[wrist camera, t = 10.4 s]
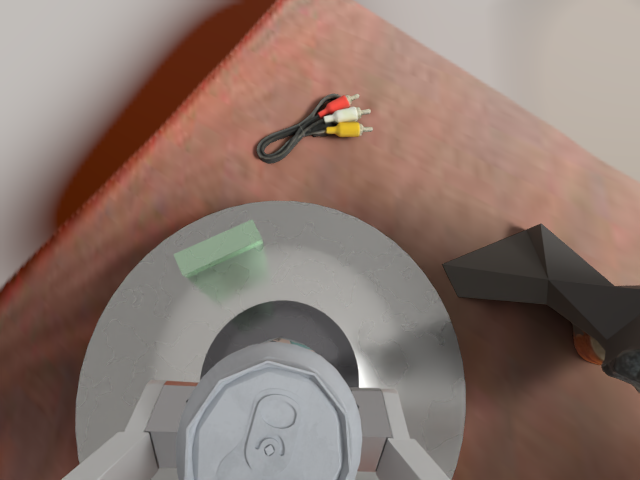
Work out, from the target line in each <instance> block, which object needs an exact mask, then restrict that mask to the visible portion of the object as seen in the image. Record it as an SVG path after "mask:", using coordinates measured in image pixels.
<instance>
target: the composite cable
mask: <svg viewBox="0 0 640 480" xmlns="http://www.w3.org/2000/svg"><path fill="white" fill-rule="evenodd" d="M358 97H359V94H355V95H354V96H351V97H350V96H349V95H346V96H345V95H343V96H340V95H338V94H330V95H328V96H326V97H324V98H323V99H322V100H321V101H320V102H319V104H318V105H317V106H316V108H315V109H314V111H313V112H312V113H311V114H310V115H309V116H308V117H307V118H306V119H304V120H303V121H302V122H300V123H299V124H297V125H295V126H292V127H290V128H287V129H284V130H281V131H278V132H276V133H273V134H271V135H269V136H267V137H265V138H264V139H262V140H261V141H260V143H259V144H258V147H257V154H258V156H259V158H260V159H261V160H262V161H264V162H266V163H269V164H270V163H275V162H278V161H280V160H282V159H283V158H284V157H286V156H287V155H288V154H289V153H290V151H291V150H292V149H293V148H294V147H295V145H296V144H297V143H298V142H299V141H300V140H301V139H302V138H303V137H304V136H308V135H313V137H316V136H327V135H330V134H336V135H337V136H339V137H358V136H359V135H362V133H363V132H372V130H373V128H372V127H363V125H362V124H359V123H358V122H357V120H358V119H360V118H361V116H362V115H365V114H369V113H370V112H371V110H370V109H367V110H360V108H359V107H357V108H356V107H351V108H349V107H350V105H351V103H352V101H353V100H355V99H357V98H358ZM329 100H333V101H331V102H330V103H328V104H327V106H326V108H325V109H324V110H322V111H320V112H318V110H319V109H320V108H321V106H322V105H323V104H324V103H325V102H327V101H329ZM317 112H318V114H317V116H315V115H316V113H317ZM314 116H315V117H314ZM291 135H294V136H293V137H292V138H291V139H290V140H288V141H287V142H286V143H285V145H284V146H282V147H281V148H280V149H279V150H278V151H276V152H275V153H273V154H266V153H265V152H264V150H265V148H266V147H267V146H268V145H269V144H270V143H272V142H275V141H277V140H279V139H282V138H286V137H288V136H291Z"/></svg>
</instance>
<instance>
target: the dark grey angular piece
mask: <svg viewBox="0 0 640 480" xmlns="http://www.w3.org/2000/svg"><path fill="white" fill-rule="evenodd" d="M442 265H443V267H444V269H445V271H446V273H447V275H448V277H449V279H450V281H451V283H452V285H453V287H454V289H455V292H456V294H457V296H458V297H468V298H479V299H491V300H502V301H514V302H525V303H537V304H547V305H548V306H549V307H551V308H552V309H554V310H555V311H556V312H558V313H559V314H561V315H562V316H563V317H565V318H566V319H567V320H569V321H570V322H572V325H573V337H574V339H573V340H574V344H575V345H574V346H575V348H576V350H577V352H578V354H579V355H580V356H581V357H582V358H583V359H584V360H586V361H588V362H591V363H594V364H597V365H602V370H603V371H604V372H605V373H606V374H607V375H608V376H611V377H614V378H617V379H620V380H622V381H625V382H627V383H629V384H631V385H633V386H634V387H635V388H636V390H637V391H638V392H639V393H640V286H614V285H613V284H612V283H610V282H609V281H608V280H607V279H606V278H605V277H603V276H602V275H601V274H600V273H599V272H597V271H596V270H595V269H594V268H593V267H592V266H590V265H589V264H588V263H587V262H586V261H585V260H583V259H582V258H581V257H580V256H579V255H578V254H576V253H575V252H574V251H573V250H572V249H570V248H569V247H568V246H567V245H566V244H565V243H563V242H562V241H561V240H560V239H559V238H558V237H556V236H555V235H554V234H553V233H552V232H551V231H549V230H548V229H547V228H546V227H545V226H544V225H542V224H539V225H536V226H534V227H532V228H529V229H527V230H525V231H522V232H520V233H517V234H515V235H513V236H510V237H508V238H505V239H503V240H500V241H498V242H496V243H493V244H491V245H488V246H486V247H483V248H481V249H478V250H476V251H474V252H471V253H469V254H466V255H464V256H461V257H459V258H457V259H454V260H452V261H449V262H447V263H444V264H442Z"/></svg>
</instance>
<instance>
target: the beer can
mask: <svg viewBox="0 0 640 480" xmlns="http://www.w3.org/2000/svg"><path fill="white" fill-rule="evenodd" d="M361 448H362V429H361V419H360V415H359V411H358V407H357V405H356V401H355V398H354V396H353V394H352V392H351V390H350V388H349V386H348V385H347V383H346V382H345V381H344V379H343V378H342V376H341V375H340V374H339V372H338V371H337V369H336V368H335V367H333V366H332V365H331V364H330V363H329V362H328V361H326V360H325V359H324V358H323V357H322V356H321V355H319V354H318V353H316V352H315V351H313V350H312V349H310V348H309V347H307V346H306V345H304V344H302V343H300V342H298V341H295V340H292V339H287V338H274V339H269V340H267V341H265V342H262V343H260V344H255V345H250V346H247V347H245V348H243V349H241V350H238V351H236V352H234V353H232V354H230V355H228V356H226V357H225V358H223V359H222V360H221V361H219V362H218V363H217V364H216V365H215V366H214V367H212V368H211V369H210V370H209V371H208V372H207V373H206V374H205V375H204V376H203V377H202V379H201V380H200V382H199V383H198V385H197V386H196V387H195V389H194V390H193V392H192V393H191V395H190V397H189V399H188V402H187V404H186V406H185V408H184V411H183V413H182V415H181V419H180V424H179V428H178V432H177V437H176V466H177V474H178V479H179V480H355V477H356V474H357V471H358V467H359V464H360V458H361Z"/></svg>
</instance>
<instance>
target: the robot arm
mask: <svg viewBox="0 0 640 480" xmlns="http://www.w3.org/2000/svg"><path fill="white" fill-rule="evenodd" d="M198 383H199V382H183V381H167V380H150V381H149V382H148V383H147V384H146V386H145V388H144V390H143V392H142V394H141V396H140V398H139V400H138V403H137V405H136V407H135V409H134V411H133V413H132V415H131V417H130V419H129V422H128V424H127V426H126V428H125V430H124V432H117V433H116V434H115V435H114V436H113V437H111V438H110V439H109V440H108V441H107V442H106V443H104V444H103V445H102V446H101V447H100V448H98V449H97V450H96V451H95V452H94V453H92V454H91V455H90V456H89V457H88V458H86V459H85V460H84V461H83V462H82V463H80V464H79V465H78V466H77V467H76V468H74V469H73V470H72V471H71V472H70V473H68V474H67V475H66V476H65V477H64V478H63V479H61V480H151V478H152V477H153V476H154V475H155V474H156V473H157V471H158V469H160V468H177V466H176V437H177V432H178V428H179V424H180V419H181V415H182V413H183V411H184V408H185V406H186V404H187V402H188V399H189V397H190V395H191V393H192V392H193V390H194V389H195V387H196V386H197V385H198ZM350 390H351V392H352V394H353V396H354V398H355V401H356V405H357V407H358V411H359V415H360V419H361V429H362V448H361V458H360V464H359V467H358V471H360V472H376V475H377V477H378V478H379V480H450V478H449V477H448V476H447V475H446V474H445V473H444V472H443V471H442V469H441V468H440V467H439V466H438V465H437V464H436V463H435V461H434V460H433V459H432V458H431V457H430V456H429V455H428V454H427V452H426V451H425V450H424V449H423V448H422V447H421V446H420V445H419V443H418V442H417V441H416V440H415V439H410V436H409V433H408V429H407V425H406V421H405V418H404V414H403V410H402V406H401V403H400V399H399V395H398V392H397V390H396V389H380V388H357V387H350Z"/></svg>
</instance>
